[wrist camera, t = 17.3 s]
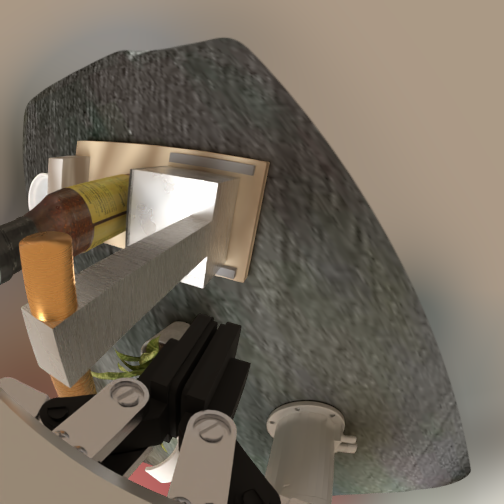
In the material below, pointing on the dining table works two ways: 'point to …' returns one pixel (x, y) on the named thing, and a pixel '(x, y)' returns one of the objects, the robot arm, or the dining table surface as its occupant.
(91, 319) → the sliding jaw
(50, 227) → the sauce bottle
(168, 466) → the white curved arc piece
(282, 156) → the dining table surface
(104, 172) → the clamp base
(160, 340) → the house plant
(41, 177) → the ramekin
